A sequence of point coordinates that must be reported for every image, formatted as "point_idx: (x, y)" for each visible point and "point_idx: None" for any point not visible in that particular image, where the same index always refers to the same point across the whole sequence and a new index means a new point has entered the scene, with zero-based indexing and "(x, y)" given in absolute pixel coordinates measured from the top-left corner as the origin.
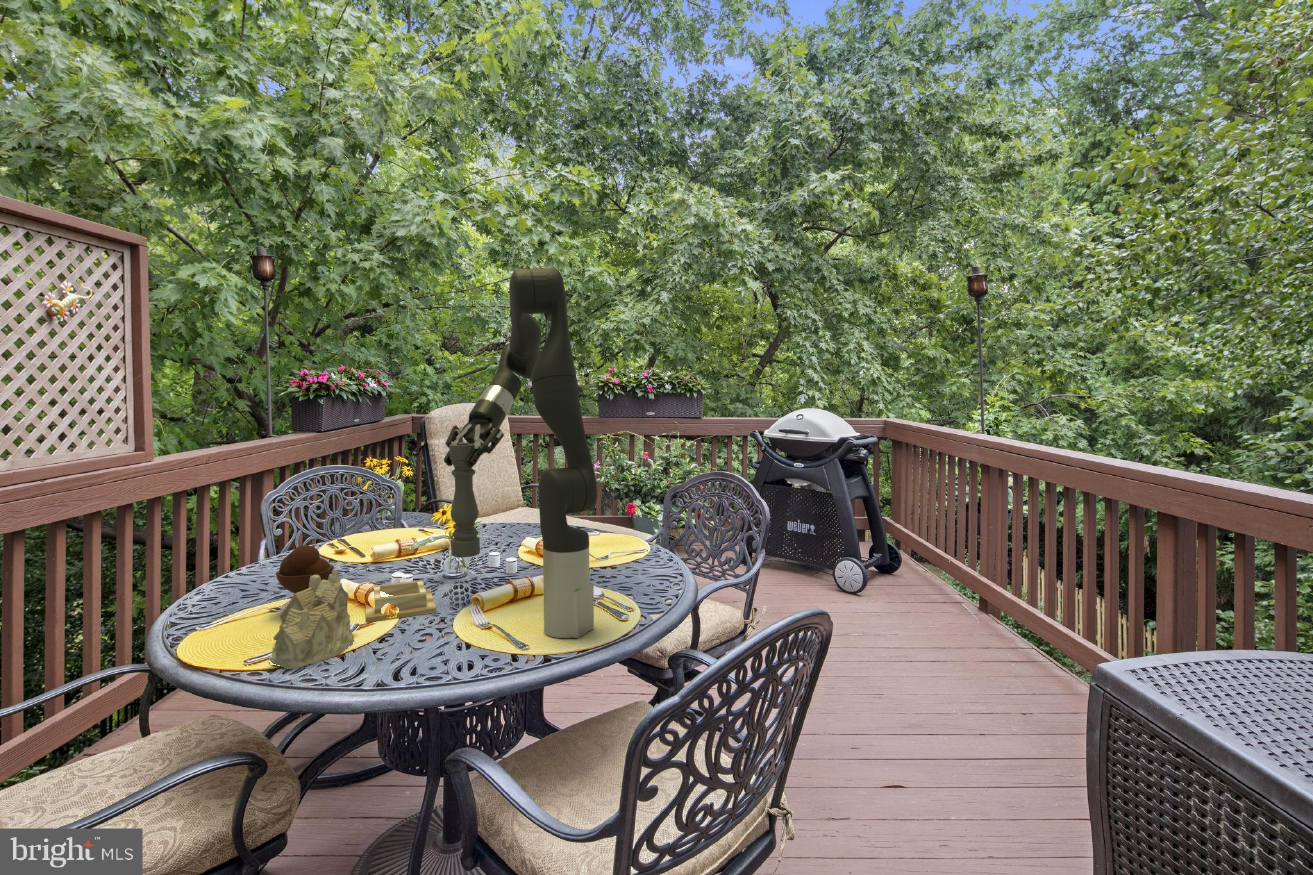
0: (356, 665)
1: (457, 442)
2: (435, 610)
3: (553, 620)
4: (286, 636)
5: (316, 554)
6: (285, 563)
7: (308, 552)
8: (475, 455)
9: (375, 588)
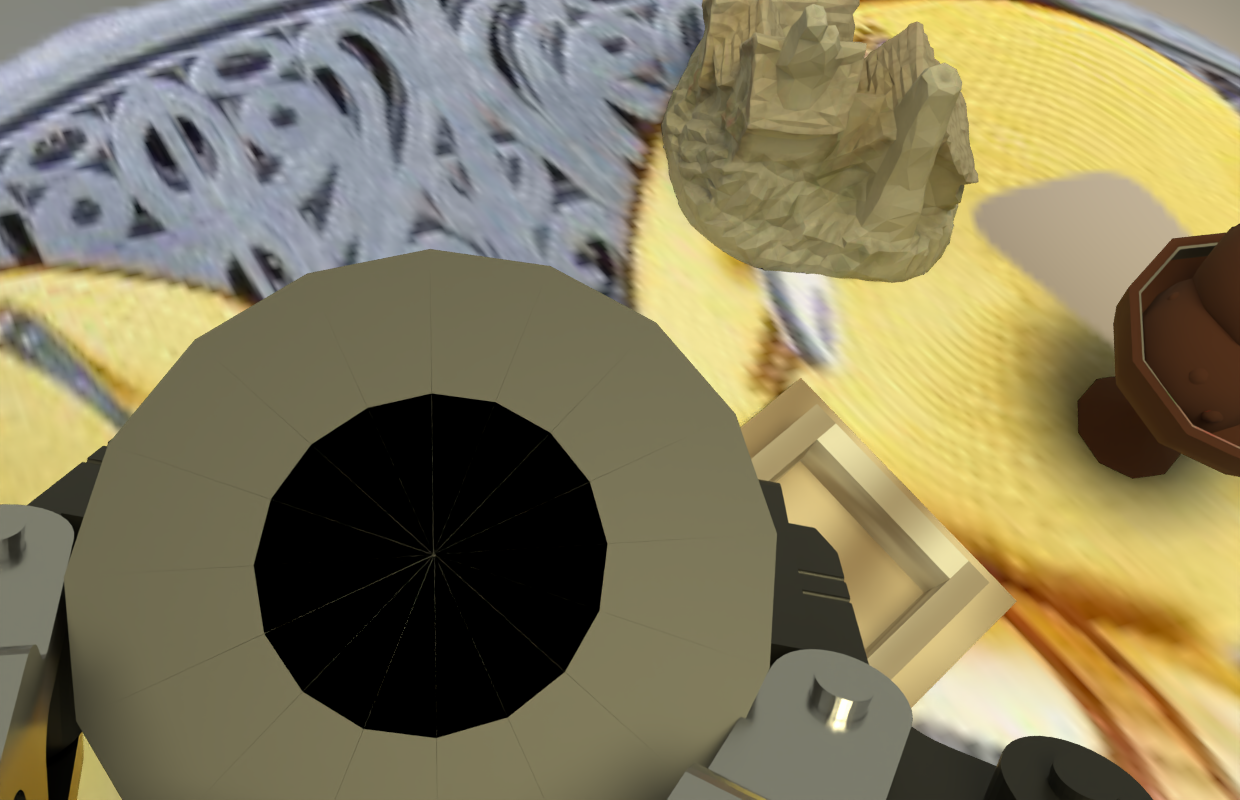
0: (544, 86)
1: (726, 747)
2: None
3: None
4: None
5: (1236, 297)
6: None
7: None
8: (73, 480)
9: (944, 545)
